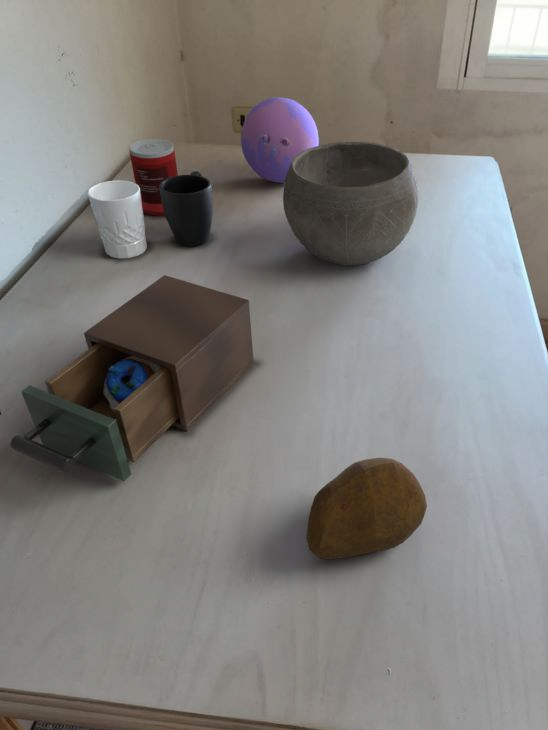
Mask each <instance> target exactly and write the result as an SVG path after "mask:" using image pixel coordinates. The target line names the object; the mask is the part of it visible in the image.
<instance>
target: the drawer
mask: <svg viewBox="0 0 548 730" xmlns="http://www.w3.org/2000/svg"><path fill="white" fill-rule="evenodd" d="M131 356H133V355H130V354H127V353H124V352H122V351H119V350H116V349H113V348H110V347H107V346H105V345H102V344H99V343H96V344H95V345H93V346H92V347H91V348H89V349H88V348H87V350H84V352H82V353H81V354H80V355H78V356H77V357H76V358H75V359H73V360H72V361H70V362H69V363H68V364H67V365H65V366H64V367H62V368H61V369H60V370H58V371H57V372H56V373H55V374H53V375H52V376H50V377H49V378H48V379H46V380H44V381H45V386H46V388H47V391H48V392H47V391H45V390H42V389H40V388H37V387H35V386H33V385H27V386H26V387H25V388H24V389H22V390H21V392H20V393H21V396H22V397H23V400H24V402H25V405H26V407H27V410H28V412H29V415H30V417H31V419H32V422H33V424H34V427H33V428H32V429H30V430H29V431H28V432H27V433H25V434H24V435H21V434H16V435H15V436H14V437H12V439H11V440H10V445H9V446H10V448H11V450H12V451H15V452H17V453H19V454H21V455H24V456H26V457H28V458H31V459H33V460H34V461H37V462H39V463H41V464H44V465H45V466H48V467H50V468H52V469H55V470H56V471H59V472H62V473H64V474H68V475H69V474H70V473H72V472H73V471H74V470H75V467H76V465H77V463H76V462H78V463H81V464H84V465H86V466H88V467H90V468H93V469H95V470H97V471H100V472H101V473H104V474H106V475H108V476H110V477H112V478H114V479H118V480H119V481H122V482H125V481H127V480H128V478H129V477H130V476H131V475H132V472H131V468H130V464H129V462H128V461H130V462H133V463H134V462H136V460H138V459H139V458H140V457H141V456H142V455H143V454H144V453H145V452H146V451H147V450H148V449H149V448H150V447H151V446H152V445H153V444H154V443H155V442H156V441H157V440H158V439H159V438H161V436H162V435H163V434H164V433H165V432H166V431H167V430H168V429H170V427H172V424H173V423H174V422H175V421H176V420H177V419H178V418H179V412H178V406H177V401H176V396H175V391H174V385H173V380H172V375H171V370H170V369H169V368H166V367H164V366H161V365H160V366H161V367H162V368H160V369H159V370H158V371H157V372H156V373H155V374H153V375H152V376H151V377H150V378H149V379H148V380H147V381H145V382H144V383H143V384H142V385H141V386H140V387H138V388H137V389H136V390H135V391H134V392H133V393H132V394H130V395H129V396H128V397H127V398H126V399H125V400H124V401H122V402H121V403H120V404H119V405H118V406H117V407H115V408H114V411H115V413H114V411H113V410H112V409H111V407H110V403H109V401H108V400H107V399H106V397H105V396H104V394H103V390H104V382H105V379H106V376H107V373H108V372H109V368H110V367H111V366H113V365H114V364H116V363H117V362H119V361H120V360H123V359H125V358H127V357H131ZM37 436H38V437H39V439H40V442H41V443H39V442H37V441H35V440H34V439H35V438H36V437H37Z"/></svg>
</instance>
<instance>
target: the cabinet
mask: <svg viewBox="0 0 548 730" xmlns="http://www.w3.org/2000/svg"><path fill="white" fill-rule="evenodd" d="M250 311H251V310H250V300H249V299H246V298H243V297H240V296H236V295H233V294H230V293H226V292H223V291H220V290H216V289H213V288H209V287H206V286H203V285H200V284H196V283H193V282H190V281H185V280H182V279H179V278H176V277H172V276H169V275H166V274H164V275H163V276H161V277H160V278H158V279H157V280H156V281H154V282H152V283H151V284H150V285H149V286H147V287H146V288H144V289H143V290H142V291H140V292H138V293H137V294H136V295H134V296H133V297H132V298H130V299H128V300H127V301H126V302H124V303H123V304H122V305H120V306H119V307H118V308H116V309H115V310H113V311H112V312H111V313H110V314H108V315H107V316H105V317H104V318H102V319H100V321H99V322H97V323H96V324H94V325H92V326H91V327H89V329H87V330H86V331H84V332H83V336H84V339H85V342H86V346H87V350H88V349H89V348H91V347H92V346H93V345H95V344H96V343H99V344H102V345H105V346H107V347H110V348H113V349H116V350H119V351H122V352H124V353H127V354H130V355H133V356H136V357H138V358H141V359H144V360H147V361H150V362H152V363H155V364H158V365H161V366H164V367H166V368H169V369H170V370H171V375H172V380H173V385H174V391H175V396H176V401H177V406H178V412H179V418H178V419H177V420H176V421H175V422H174V423H173V424H172V425H171V427H175V428H177V429H180V430H183V431H185V432H189V430H190V429H191V428H193V426H194V425H195V424H196V423H197V422H198V421H199V420H200V419H201V418H202V417H203V416H205V414H206V413H207V412H208V411H209V410H210V409H211V408H212V407H214V405H216V403H217V402H218V401H219V400H220V399H221V398H222V397H223V396H224V395H225V394H226V393H227V392H228V391H229V390H230V389H231V387H233V386H234V385H235V384H236V383H237V381H238V380H239V379H241V377H242V376H243V375H245V373H246V372H247V371H249V369H250V368H251V367H252V366H254V364H255V362H254V348H253V336H252V335H253V334H252V325H251V323H252V322H251V312H250Z"/></svg>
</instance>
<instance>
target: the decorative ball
mask: <svg viewBox="0 0 548 730" xmlns="http://www.w3.org/2000/svg"><path fill="white" fill-rule="evenodd" d="M317 127H318V126H317V125H316V122H315V120H314V118H313V116H312V115H311V114H310V112H309V110H307V108H305V107H304V106H303V105H302V104H300V103H299V102H298V101H296V100H293V99H290V98H286V97H271V98H268V99H267V98H266V99H265V100H263V101H261V102H259V103H257V104H256V105H255V106H254V107H253V108H251V110H250V111H249V113H248V114H247V115H246V117H245V119H244V122H243V124H242V128H241V133H240V146H241V149H242V153H243V156H244V159H245V161H246V163H247V164H248V166H249V167H250V168H251V170H252V171H253V172H254V173H255V174H256V175H258V176H259V177H260V178H263V179H264V180H267V181H268V182H272V183H279V184H281V183H282V184H283V183H284V184H285V179H286V175H287V172H288V170H289V167H290V164H291V162H292V161H293V159H294V158H295V157H296V156H297V155H298V154H300V153H301V152H302V151H306V150H307V149H309V148H312V147H316V146H319V143H320V138H319V131H318V128H317Z"/></svg>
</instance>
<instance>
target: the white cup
mask: <svg viewBox="0 0 548 730" xmlns="http://www.w3.org/2000/svg"><path fill="white" fill-rule="evenodd" d="M87 196H88V199H89V204H90V206H91V210H92V213H93V217H94V221H95V223H96V226H97V227H96V228H97V230H98V233H99V237H100V238H101V241H102V245H103V248H104V251H105V254H106V255H107V256H109V257H111V258H115V259H119V260H120V259H131V258H136V257H138V256H141V255H142V254H144V253H145V252H146V250H147V249H148V244H147V239H146V238H147V237H146V226H145V225H146V224H145V216H144V212H143V208H142V201H141V194H140V187H139V186H138V185H137V184H136V183H135V182H133V181H130V180H123V179H122V180H120V179H119V180H118V179H117V180H107V181H102V182H100V183H99V182H98V183H97V184H94V185H92V186H90V188H88V189H87Z"/></svg>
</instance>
